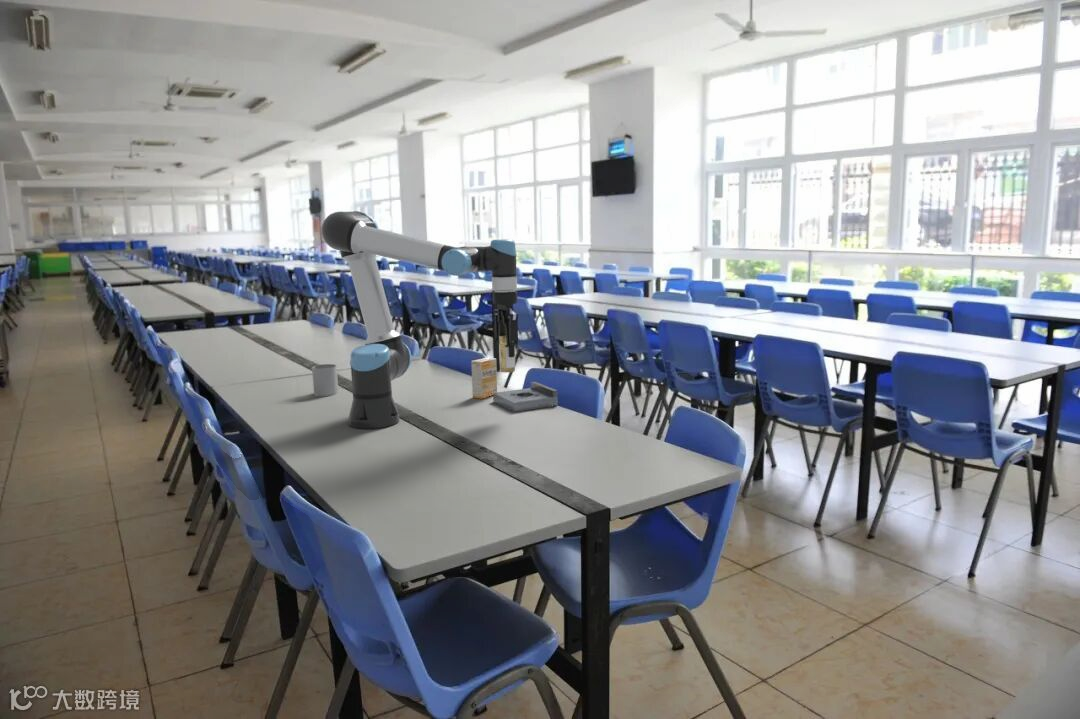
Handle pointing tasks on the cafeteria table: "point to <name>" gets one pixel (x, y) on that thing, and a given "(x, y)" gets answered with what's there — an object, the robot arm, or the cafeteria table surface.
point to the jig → (527, 398)
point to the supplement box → (484, 377)
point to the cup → (325, 380)
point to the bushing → (504, 355)
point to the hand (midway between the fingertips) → (507, 365)
